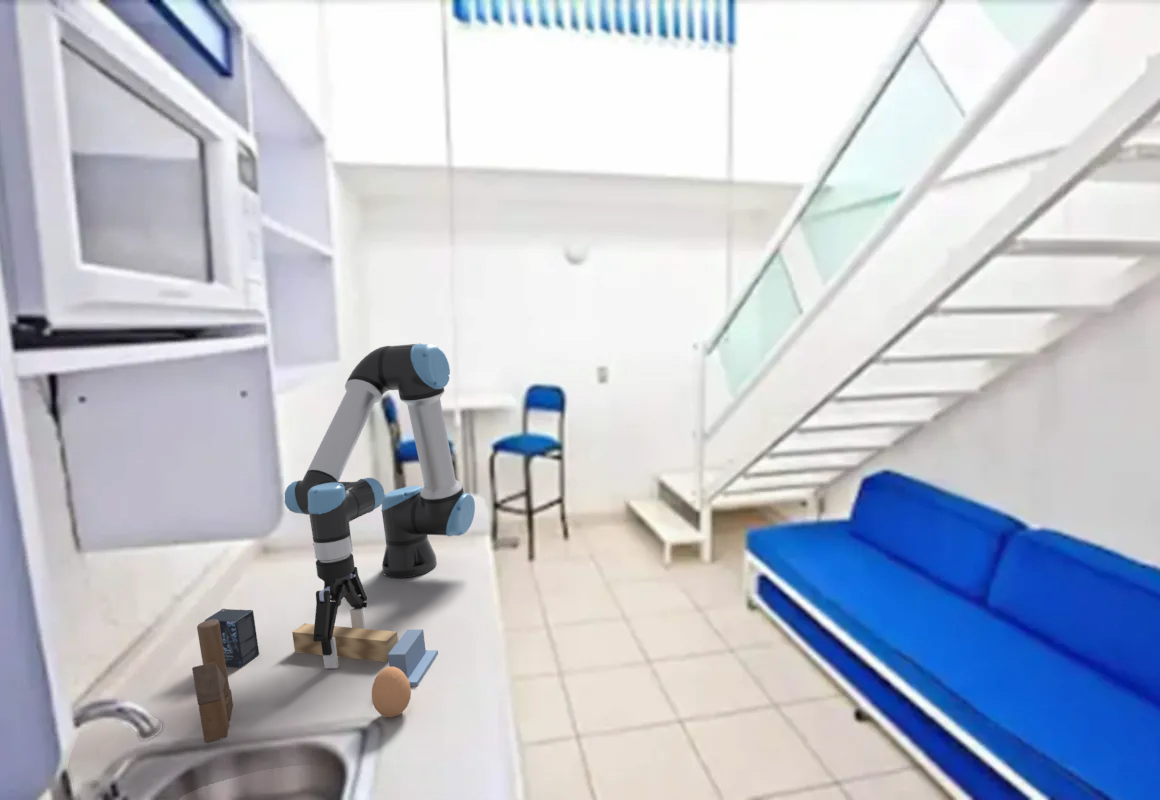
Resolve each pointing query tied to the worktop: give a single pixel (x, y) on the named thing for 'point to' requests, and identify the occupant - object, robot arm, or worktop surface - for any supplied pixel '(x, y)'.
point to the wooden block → (212, 683)
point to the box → (237, 636)
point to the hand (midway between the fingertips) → (346, 651)
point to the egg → (391, 692)
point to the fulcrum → (412, 656)
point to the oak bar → (348, 642)
